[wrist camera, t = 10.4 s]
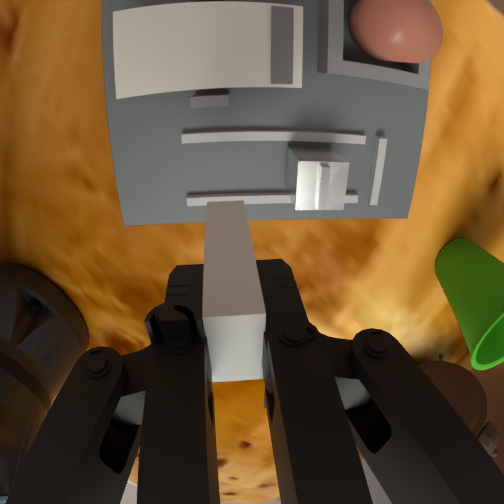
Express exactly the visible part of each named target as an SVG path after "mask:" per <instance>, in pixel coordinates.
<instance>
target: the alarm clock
mask: <svg viewBox="0 0 504 504" xmlns="http://www.w3.org/2000/svg"><path fill="white" fill-rule="evenodd" d="M439 358H440V359H439V361H432V362H426V363H422V364H419V366H420V368H421V369H422V370H423V371H424V372H425V374H426V375H427V376H428V377H429V378H430V380H431V381H432V382H433V383H434V385H435V386H436V387H437V388H438V389H439V391H440V392H441V393H442V394H443V396H444V397H445V398H446V399H447V401H448V402H449V403H450V404H451V406H452V407H453V408H454V409H455V411H456V412H457V413H458V415H459V416H460V417H461V418H462V420H463V421H464V422H465V423H466V425H467V426H468V427H469V429H470V430H471V431H472V433H473V434H474V435H475V436H476V438H477V439H478V440H479V442H480V443H481V444H482V446H483V447H484V448H485V450H486V451H487V452H488V454H489V455H492V456H493V457H496V456H497V455H498V452H497V450H495V447H496V446H497V445H496V444H497V442H498V438H499V431H498V429H497V428H496V426H495V425H494V424H493V423H492V422H491V421H488V422H487V423H486V425H485V426H484V423H485V419H486V415H487V399H486V395H485V392H484V389H483V387H482V385H481V384H480V382H479V381H478V379H477V378H476V377H475V376H474V375H473V374H472V373H471V372H470V371H468V370H467V369H465V368H464V367H462V366H459V365H457V364H454V363H450V362H444V361H442V358H443V354H440V355H439ZM483 426H484V427H483ZM482 428H483V429H482Z"/></svg>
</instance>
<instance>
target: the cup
mask: <svg viewBox="0 0 504 504" xmlns="http://www.w3.org/2000/svg"><path fill="white" fill-rule="evenodd" d="M435 270H436V276H437V278H438V280H439V282H440V284H441V286H442V288H443V291H444V293H445V295H446V297H447V299H448V301H449V303H450V306H451V308H452V310H453V312H454V315H455V317H456V319H457V321H458V324H459V326H460V329H461V331H462V333H463V336H464V338H465V341H466V343H467V346H468V348H469V351H470V354H471V359H470V363H471V366H472V367H473V368H475V369H477V370H485V369H489V368H491V367H494V366H496V365H498V364H499V363H501V362H503V361H504V263H503V262H501V261H500V260H498V259H497V258H496V257H494V256H493V255H491V254H490V253H488V252H487V251H485V250H484V249H482V248H481V247H479V246H478V245H476V244H475V243H473V242H472V241H470V240H468V239H464V238H458V239H455V240H453V241H451V242H449V243H448V244H447V245H446V246H445V247H444V248H443V249H442V250H441V252H440V253H439V255H438V257H437V259H436V263H435Z"/></svg>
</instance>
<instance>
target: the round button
mask: <svg viewBox="0 0 504 504" xmlns="http://www.w3.org/2000/svg"><path fill="white" fill-rule="evenodd" d="M348 28H349V32H350V35H351V37H352V39H353V41H354V43H355V44H356V45H357V47H358V48H359V49H360V50H361V51H362V52H364V53H365V54H366V55H368V56H370V57H372V58H374V59H376V60H380V61H393V62H407V63H422V62H426V61H428V60H430V59H431V58H433V57H434V56H435V55H436V53H437V52H438V50H439V49H440V46H441V43H442V37H443V31H442V25H441V21H440V18H439V16H438V14H437V12H436V10H435V9H434V7H433V6H432V4H431V3H430V2H429V1H428V0H359V1H357V2H356V3H355V4H354V5H353V6H352V8H351V10H350V12H349V16H348Z"/></svg>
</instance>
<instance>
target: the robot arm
mask: <svg viewBox="0 0 504 504" xmlns="http://www.w3.org/2000/svg"><path fill="white" fill-rule="evenodd" d="M144 322H145V325H146V328H147V331H148V335H149V338H150V341H151V345H149V346H148V347H146V348H144V349H142V350H139V351H137V352H133V353H129V354H125V355H122V356H121V355H120V354H119V353H118V352H117V351H116V350H114V349H112V348H110V347H101V346H100V347H96V348H92V349H90V350H88V351H87V348H88V344H89V336H88V331H87V327H86V325H85V322H84V320H83V318H82V316H81V315H80V313H79V312H78V310H77V309H76V307H75V306H74V305H73V303H72V302H71V301H70V300H69V299H68V297H67V296H66V295H65V294H64V293H63V292H62V291H61V290H59V289H58V288H57V287H56V286H55V285H54V284H52V283H51V282H50V281H48V280H47V279H46V278H44V277H43V276H41V275H39V274H38V273H36V272H34V271H32V270H30V269H28V268H26V267H23V266H20V265H17V264H13V263H0V504H120V502H121V499H122V495H123V493H124V490H125V487H126V484H127V481H128V478H129V475H130V473H131V470H132V467H133V464H134V461H135V458H136V455H137V453H138V450H139V447H140V453H139V468H138V486H137V504H220V494H219V481H218V466H217V451H216V433H215V413H214V396H213V391H212V382H221V381H238V380H252V379H263V375H264V381H265V394H264V407H266V408H267V415H268V421H269V428H270V434H271V441H272V447H273V454H274V460H275V466H276V473H277V479H278V485H279V492H280V498H281V504H373V502H372V499H371V495H370V492H369V489H368V485H367V481H366V478H365V474H364V471H363V467H362V464H361V460H360V457H359V454H358V450H357V447H358V449H359V451H360V452H361V454H362V456H363V457H364V459H365V460H366V462H367V463H368V465H369V467H370V468H371V470H372V472H373V473H374V475H375V476H376V478H377V480H378V481H379V483H380V485H381V486H382V488H383V489H384V491H385V492H386V494H387V496H388V497H389V499H390V501H391V502H392V504H504V474H503V473H502V472H501V470H500V469H499V467H498V466H497V465H496V463H495V462H494V461H493V459H492V458H491V457H490V455H489V454H488V452H487V451H486V450H485V448H484V447H483V446H482V444H481V443H480V442H479V440H478V439H477V438H476V436H475V435H474V434H473V433H472V431H471V430H470V429H469V427H468V426H467V425H466V423H465V422H464V421H463V420H462V418H461V417H460V416H459V415H458V413H457V412H456V411H455V409H454V408H453V407H452V406H451V404H450V403H449V402H448V401H447V399H446V398H445V397H444V396H443V394H442V393H441V392H440V391H439V389H438V388H437V387H436V386H435V385H434V383H433V382H432V381H431V380H430V378H429V377H428V376H427V375H426V374H425V372H424V371H423V370H422V369H421V368H420V366H419V365H418V364H417V363H416V362H415V360H414V359H413V358H412V357H411V356H410V355H409V353H408V352H407V351H406V350H405V349H404V347H403V346H402V345H401V344H400V343H399V342H398V340H397V339H396V338H395V337H393V336H392V335H391V334H390V333H388V332H385V331H383V330H381V329H373V328H371V329H365V330H362V331H360V332H359V333H357V334H356V335H355V337H354V338H353V340H347V339H340V338H333V337H329V336H326V335H324V334H321V333H320V332H319V331H318V330H317V328H316V327H315V326H314V325H312V324H311V323H310V322H309V320H308V318H307V315H306V312H305V309H304V306H303V303H302V300H301V297H300V294H299V291H298V288H297V285H296V282H295V280H294V276H293V273H292V270H291V267H290V266H289V265H288V264H287V263H285V262H284V261H283V260H282V259H270V260H255V255H254V250H253V245H252V240H251V235H250V230H249V224H248V219H247V214H246V209H245V204H244V200H239V201H217V202H207V209H206V227H205V248H204V264H195V265H177V266H176V267H175V268H174V270H173V271H172V272H171V273H170V275H169V279H168V285H167V291H166V297H165V303H163V304H161V305H159V306H157V307H155V308H154V309H152V310H151V311H150V312H149V313H148V314H147V317H146V319H145V321H144ZM58 392H59V393H58ZM57 393H58V395H57ZM56 395H57V397H56V398H55V400H54V402H53V404H52V406H51V403H52V401H53V399H54V397H55V396H56ZM50 406H51V408H50ZM356 446H357V447H356Z"/></svg>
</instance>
